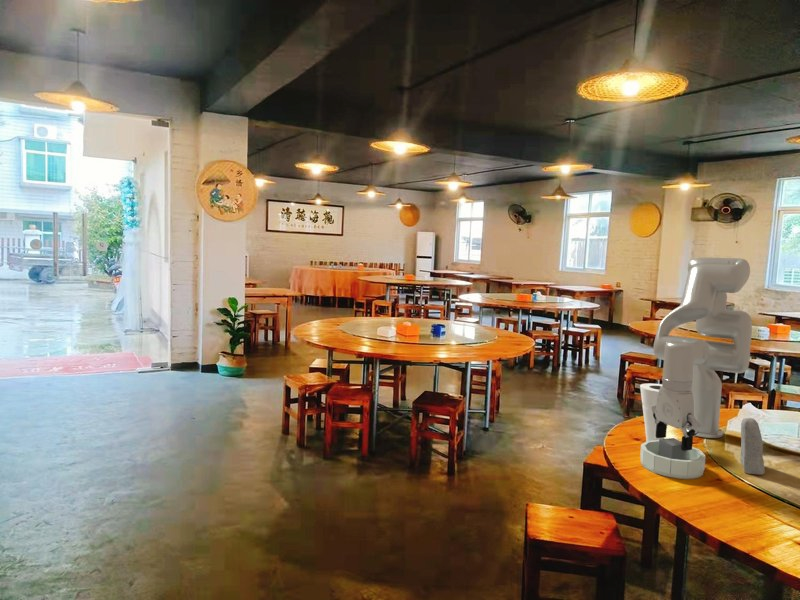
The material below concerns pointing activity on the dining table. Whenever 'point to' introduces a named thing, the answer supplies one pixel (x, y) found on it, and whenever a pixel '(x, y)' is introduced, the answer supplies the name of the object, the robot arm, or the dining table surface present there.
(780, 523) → the dining table surface
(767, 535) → the dining table surface
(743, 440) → the decorative stone
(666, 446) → the matte grey cube
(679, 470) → the bowl
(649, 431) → the cup
